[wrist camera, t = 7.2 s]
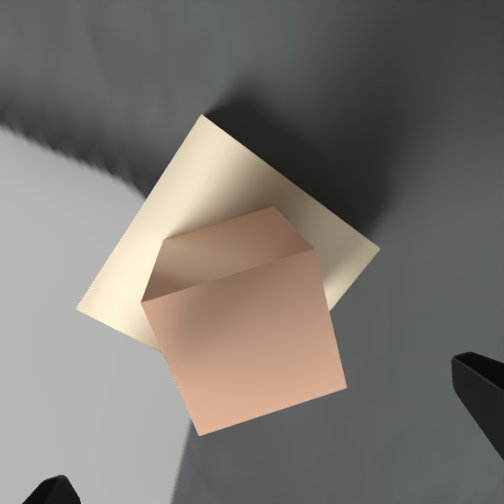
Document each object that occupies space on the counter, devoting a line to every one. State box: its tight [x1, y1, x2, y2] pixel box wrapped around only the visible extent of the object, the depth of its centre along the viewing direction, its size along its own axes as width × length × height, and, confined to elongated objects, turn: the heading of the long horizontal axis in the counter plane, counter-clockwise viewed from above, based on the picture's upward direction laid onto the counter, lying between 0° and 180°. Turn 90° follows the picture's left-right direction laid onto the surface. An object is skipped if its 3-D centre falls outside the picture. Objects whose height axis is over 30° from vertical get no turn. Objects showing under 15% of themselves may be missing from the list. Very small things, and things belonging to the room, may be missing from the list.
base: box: [76, 114, 380, 352], centre depth 18 cm, size 10×10×3 cm
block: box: [141, 206, 347, 436], centre depth 14 cm, size 5×5×6 cm
